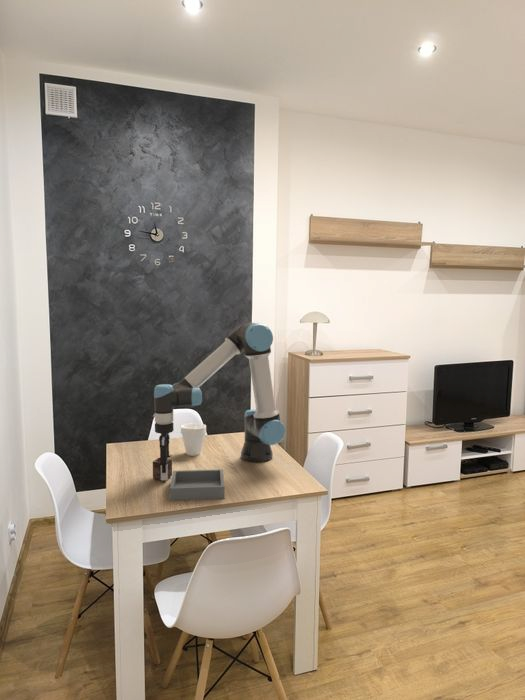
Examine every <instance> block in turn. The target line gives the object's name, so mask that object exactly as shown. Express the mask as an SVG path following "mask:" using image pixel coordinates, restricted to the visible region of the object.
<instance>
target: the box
mask: <svg viewBox="0 0 525 700" xmlns="http://www.w3.org/2000/svg"><path fill="white" fill-rule="evenodd" d="M159 464H160V457H158V458H156V459H154V460H153V461H152V479H154V480H161V465H159ZM167 464H168V479H170V477H171V478H172V476H173V459H172V458H169V459H168V458H167Z"/></svg>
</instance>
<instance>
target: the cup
mask: <svg viewBox="0 0 525 700" xmlns="http://www.w3.org/2000/svg"><path fill="white" fill-rule="evenodd" d="M206 433H207V425H206V424H204V423H197V422H195V423H194V422H193V423H185V424H182V425H180V434H181V435H182V436H181V437H182V440H183V443H184V449H185V453H186V455H187V456H193V457H194V456H196V457H197V456H200V455H201V453H202V450H203V445H204V440H205V436H206Z"/></svg>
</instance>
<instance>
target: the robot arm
mask: <svg viewBox="0 0 525 700" xmlns="http://www.w3.org/2000/svg"><path fill="white" fill-rule="evenodd" d="M273 342H274V335H273V332H272V331H271V329H270V327H268V326H267V325H266V324H262V323H259V322H245V323H242V324H241V325H239V326H238V327H236V328H235V329H234V330H233V331H231V333H230V334H228V335H227V336H226V337H225V340H224V342H223V343H222V344H221V345H220V346H218V347H217V348H216V349H215V350H214V351H213V352H212V353H211V354H209V355H208V356H207V357H206V358H205V359H204V360H202V362H200V363H199V364H198V365H197V366H196V367H195V368H193V369H192V370H191V371H190V372H189V373H188V374H187V375H186V376H185V377H183V379H181V380H180V381H179V382H176V383H173V384H168V383H165V384H164V383H163V384H156V385H155V387H154V391H153V392H154V393H153V398H154V399H153V400H154V405H153V406H154V414H153V415H152V417H153V418H154V422H155V423H154V432H155V433H156V434H160V435H159V437H158V441H159V455H160V456H159V458H160V464H159V465H161V479H160V481H169V478H168V464H167V458H168V459H172V458H171V455H170V438H171V435H169V434H171V433H173V432H174V408H182V407H196V406H200V405H202V403H203V392H202V390H201V388H200V387H201V386H202V385H203V384H204V383H206V382H207V381H208V380H209V379H210V378H211V377H212V376H213V375H214V374H215V373H217V372H218V370H220V369H221V368H222V367H223V366H225V364H227V363H228V362H229V361H230V360H231V359H232V358H234V356H236V355H240V354H241V353H244V357H246V358H247V359H248V362H249V363H248V364H249V368H250V377H251V384H252V390H253V392H252V393H253V398H254V404H255V408H254V409H247V410H246V411H245V412H244V418H243V419H244V443H243V446H242V448H241V451H240V459H241V460H243V461H245V462H252V463H263V462H268V461H271V460H273V458H272V457H273V454H274V453H273V450H272V446H274V445H275V446H276V445H277V444H279V443H280V442H281V441H282V440H283V438H284V437H285V435H286V426H285V424H284V423H283V422H282V421H281V417H280V416H281V415H280V411H279V410H277V408H276V406H275V404H276V403H275V398H274V397H275V396H274V390H273V389H274V387H273V382H272V374H271V368H270V360H269V356H270V354H271V353H272V349H271V348H272V347H271V346H272V345H273ZM270 459H271V460H270ZM267 460H268V461H267ZM262 461H263V462H262Z"/></svg>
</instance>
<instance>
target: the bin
mask: <svg viewBox="0 0 525 700" xmlns="http://www.w3.org/2000/svg"><path fill="white" fill-rule="evenodd" d="M224 499H225V478H224V469H223V468H221V469H217V468H216V469H194V470H193V469H192V470H191V469H188V470H187V469H185V470H182V469H181V470H172V476H171V482H170V485H169V501H170V502H174V501H197V500H224Z"/></svg>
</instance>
